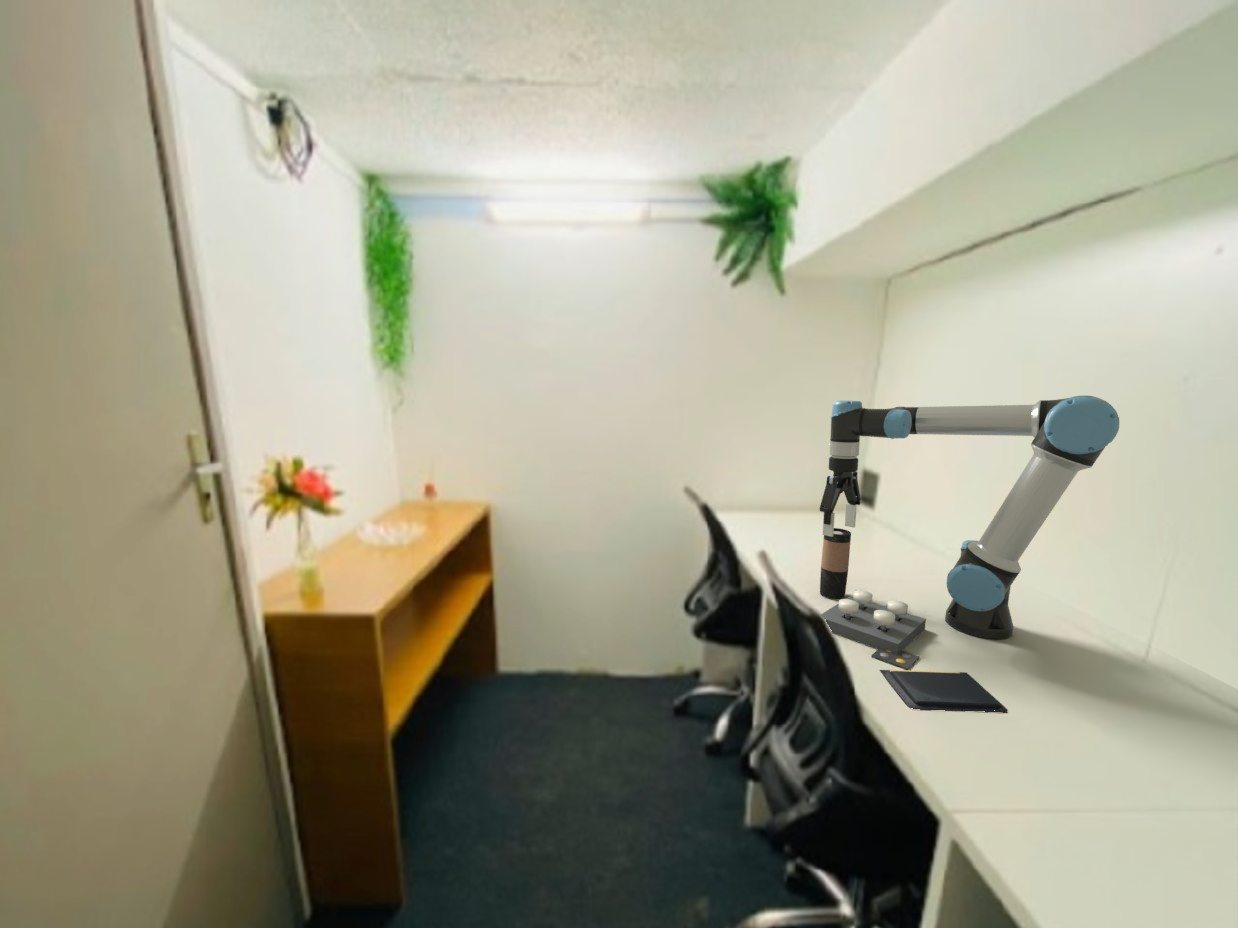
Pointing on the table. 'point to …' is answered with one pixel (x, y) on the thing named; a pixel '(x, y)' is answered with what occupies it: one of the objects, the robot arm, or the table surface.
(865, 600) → the button
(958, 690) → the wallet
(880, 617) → the button
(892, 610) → the button
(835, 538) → the travel mug
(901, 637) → the button board
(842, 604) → the button
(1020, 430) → the robot arm
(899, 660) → the card
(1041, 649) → the table surface
